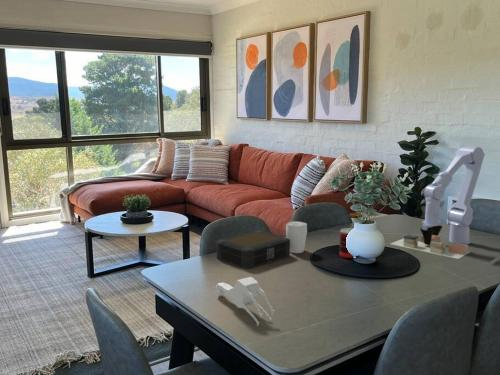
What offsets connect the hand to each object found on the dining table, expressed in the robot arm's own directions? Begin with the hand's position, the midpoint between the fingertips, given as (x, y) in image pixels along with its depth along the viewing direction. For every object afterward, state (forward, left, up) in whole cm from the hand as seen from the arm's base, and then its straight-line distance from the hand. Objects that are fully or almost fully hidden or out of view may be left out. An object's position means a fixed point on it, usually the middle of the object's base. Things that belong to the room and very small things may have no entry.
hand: (430, 242), depth 208 cm
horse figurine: (+103, -13, -3) cm, 104 cm away
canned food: (+35, -19, -2) cm, 40 cm away
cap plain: (0, +12, -1) cm, 12 cm away
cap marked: (0, 0, 0) cm, 0 cm away
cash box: (+63, -46, -3) cm, 79 cm away
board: (+3, +1, -2) cm, 4 cm away
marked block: (+6, -6, -1) cm, 9 cm away
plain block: (+6, +6, -1) cm, 9 cm away
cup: (+45, -39, -2) cm, 60 cm away
